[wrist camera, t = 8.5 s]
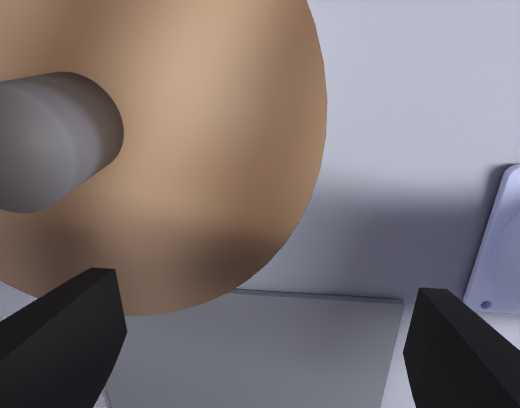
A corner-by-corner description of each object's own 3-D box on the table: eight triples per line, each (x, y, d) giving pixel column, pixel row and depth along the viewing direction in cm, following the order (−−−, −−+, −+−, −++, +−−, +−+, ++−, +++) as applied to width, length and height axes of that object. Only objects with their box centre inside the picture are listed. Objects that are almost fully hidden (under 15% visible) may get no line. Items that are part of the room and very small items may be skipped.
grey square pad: (402, 299, 20) (404, 304, 19) (359, 486, 28) (360, 493, 27) (84, 279, 21) (80, 283, 21) (128, 464, 29) (126, 469, 28)
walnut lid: (392, -148, 8) (461, -274, 5) (277, 331, 15) (272, 421, 11) (-245, -257, 8) (-609, -452, 5) (-81, 266, 15) (-191, 335, 12)
